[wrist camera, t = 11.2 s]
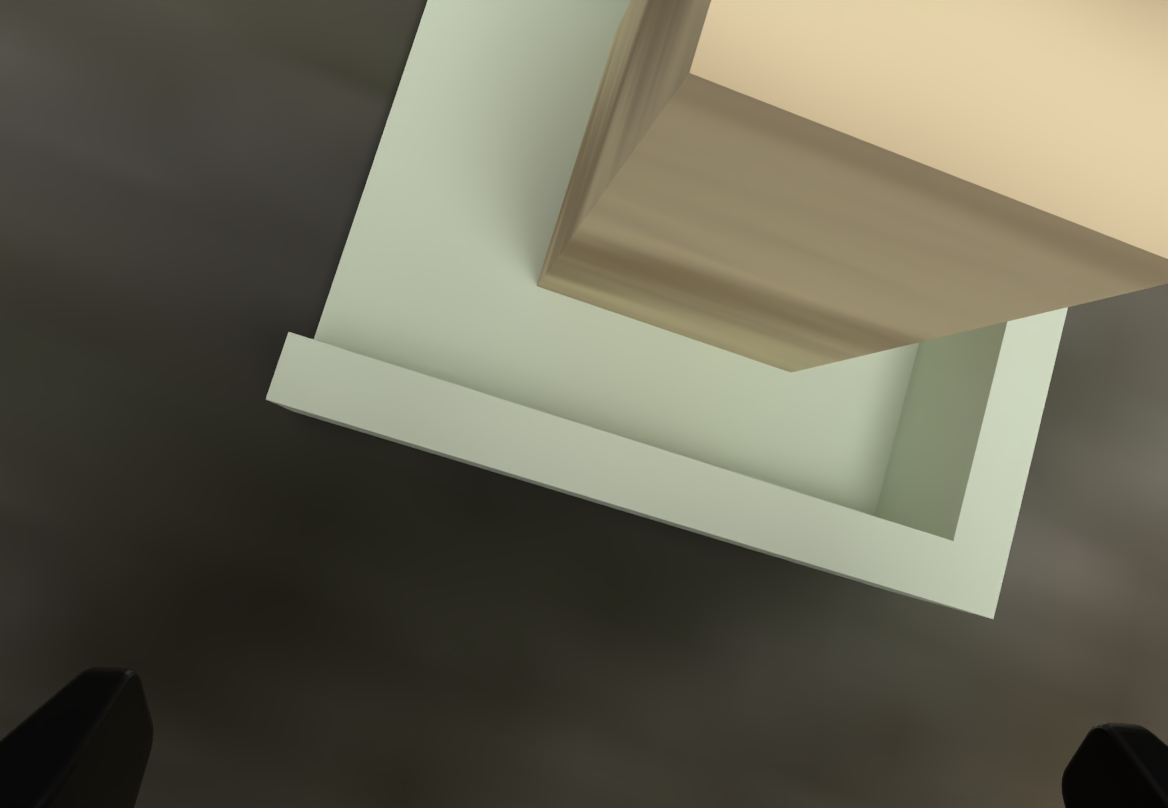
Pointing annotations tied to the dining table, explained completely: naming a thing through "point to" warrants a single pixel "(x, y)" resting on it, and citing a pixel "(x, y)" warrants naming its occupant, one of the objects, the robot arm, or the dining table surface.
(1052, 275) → the beige rectangular block
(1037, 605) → the dining table surface
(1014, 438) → the bay
